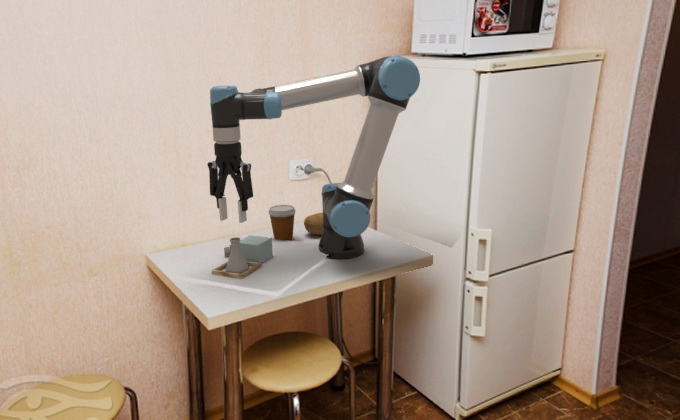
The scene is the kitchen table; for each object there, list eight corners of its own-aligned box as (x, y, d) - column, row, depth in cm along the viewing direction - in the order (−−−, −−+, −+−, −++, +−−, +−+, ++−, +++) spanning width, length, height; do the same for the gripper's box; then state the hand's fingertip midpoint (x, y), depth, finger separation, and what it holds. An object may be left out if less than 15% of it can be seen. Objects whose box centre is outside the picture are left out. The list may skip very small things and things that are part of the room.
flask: (252, 266, 173) (250, 235, 170) (245, 275, 166) (243, 243, 163) (229, 265, 174) (227, 234, 171) (221, 274, 167) (219, 242, 164)
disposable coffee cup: (296, 244, 196) (294, 211, 192) (268, 245, 196) (266, 211, 192) (298, 236, 205) (296, 204, 202) (271, 236, 205) (269, 204, 202)
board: (279, 260, 181) (278, 247, 180) (242, 283, 163) (241, 269, 162) (232, 253, 188) (231, 241, 187) (192, 274, 171) (191, 261, 169)
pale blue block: (272, 256, 181) (271, 237, 179) (258, 264, 174) (257, 245, 172) (251, 253, 184) (250, 235, 183) (237, 261, 177) (235, 242, 176)
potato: (344, 231, 208) (344, 211, 206) (316, 241, 199) (316, 219, 197) (325, 227, 215) (325, 206, 213) (298, 235, 205) (297, 214, 203)
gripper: (263, 141, 159) (268, 220, 165) (208, 138, 167) (214, 214, 173) (248, 145, 152) (253, 227, 158) (191, 142, 160) (199, 220, 166)
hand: (233, 220), depth 166 cm, fingers open, 6 cm apart
